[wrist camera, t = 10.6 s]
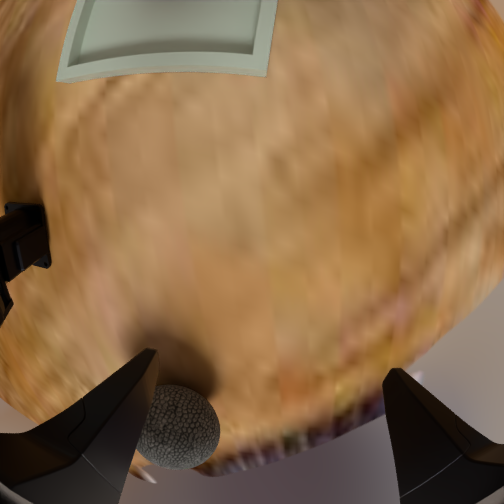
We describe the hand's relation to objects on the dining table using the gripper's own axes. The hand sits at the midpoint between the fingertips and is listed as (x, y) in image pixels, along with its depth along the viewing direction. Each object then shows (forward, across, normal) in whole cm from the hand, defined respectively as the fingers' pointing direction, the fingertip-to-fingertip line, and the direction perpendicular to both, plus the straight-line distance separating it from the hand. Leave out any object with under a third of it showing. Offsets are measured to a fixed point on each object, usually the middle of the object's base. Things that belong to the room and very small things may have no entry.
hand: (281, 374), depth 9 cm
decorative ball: (+13, +7, +20) cm, 25 cm away
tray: (+12, +10, -20) cm, 26 cm away
